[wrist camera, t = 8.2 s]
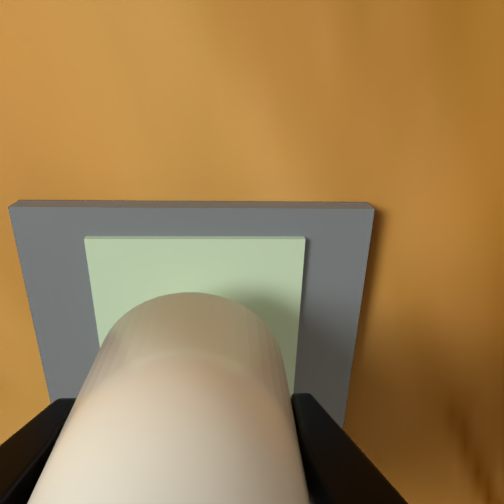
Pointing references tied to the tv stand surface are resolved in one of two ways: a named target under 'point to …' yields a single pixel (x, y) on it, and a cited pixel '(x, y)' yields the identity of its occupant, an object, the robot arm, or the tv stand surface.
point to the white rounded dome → (180, 413)
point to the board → (197, 277)
